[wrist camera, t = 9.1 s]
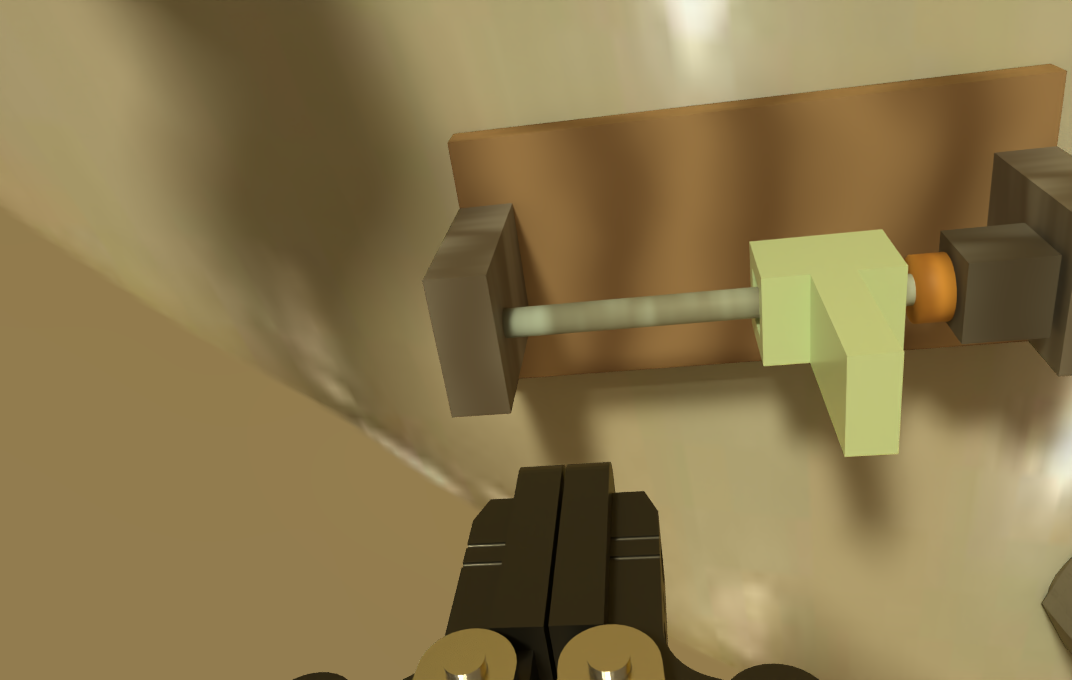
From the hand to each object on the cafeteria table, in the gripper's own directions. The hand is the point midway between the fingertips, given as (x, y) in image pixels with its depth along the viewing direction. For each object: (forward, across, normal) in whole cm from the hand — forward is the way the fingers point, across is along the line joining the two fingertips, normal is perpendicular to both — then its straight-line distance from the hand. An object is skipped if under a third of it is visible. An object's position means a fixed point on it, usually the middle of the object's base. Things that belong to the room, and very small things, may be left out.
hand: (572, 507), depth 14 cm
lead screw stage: (+27, -6, +6) cm, 28 cm away
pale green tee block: (+21, -8, +6) cm, 23 cm away
